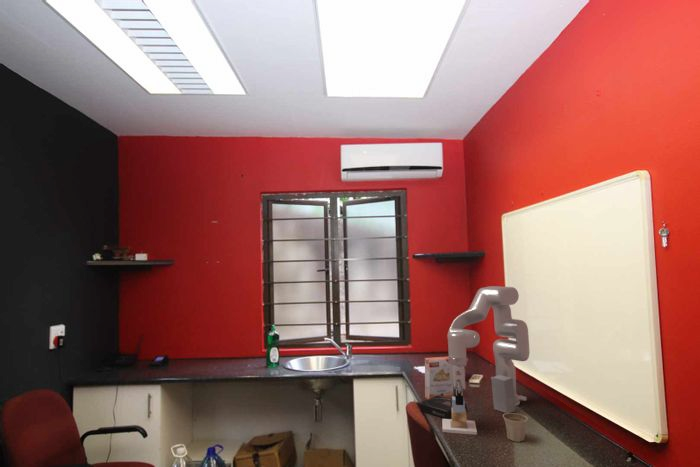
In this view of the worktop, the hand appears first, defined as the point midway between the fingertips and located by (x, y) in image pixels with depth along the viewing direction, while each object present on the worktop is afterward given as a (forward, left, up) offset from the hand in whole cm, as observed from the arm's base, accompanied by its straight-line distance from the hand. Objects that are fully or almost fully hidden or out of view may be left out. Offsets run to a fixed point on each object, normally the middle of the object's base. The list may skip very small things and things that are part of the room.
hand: (459, 400), depth 181 cm
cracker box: (+9, -38, -12) cm, 40 cm away
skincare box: (-22, -26, -12) cm, 35 cm away
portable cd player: (+7, -20, -12) cm, 24 cm away
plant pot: (-2, -76, -12) cm, 76 cm away
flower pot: (-22, +7, -12) cm, 26 cm away
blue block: (0, 0, -4) cm, 4 cm away
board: (0, 0, -11) cm, 11 cm away
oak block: (0, 0, -10) cm, 10 cm away
